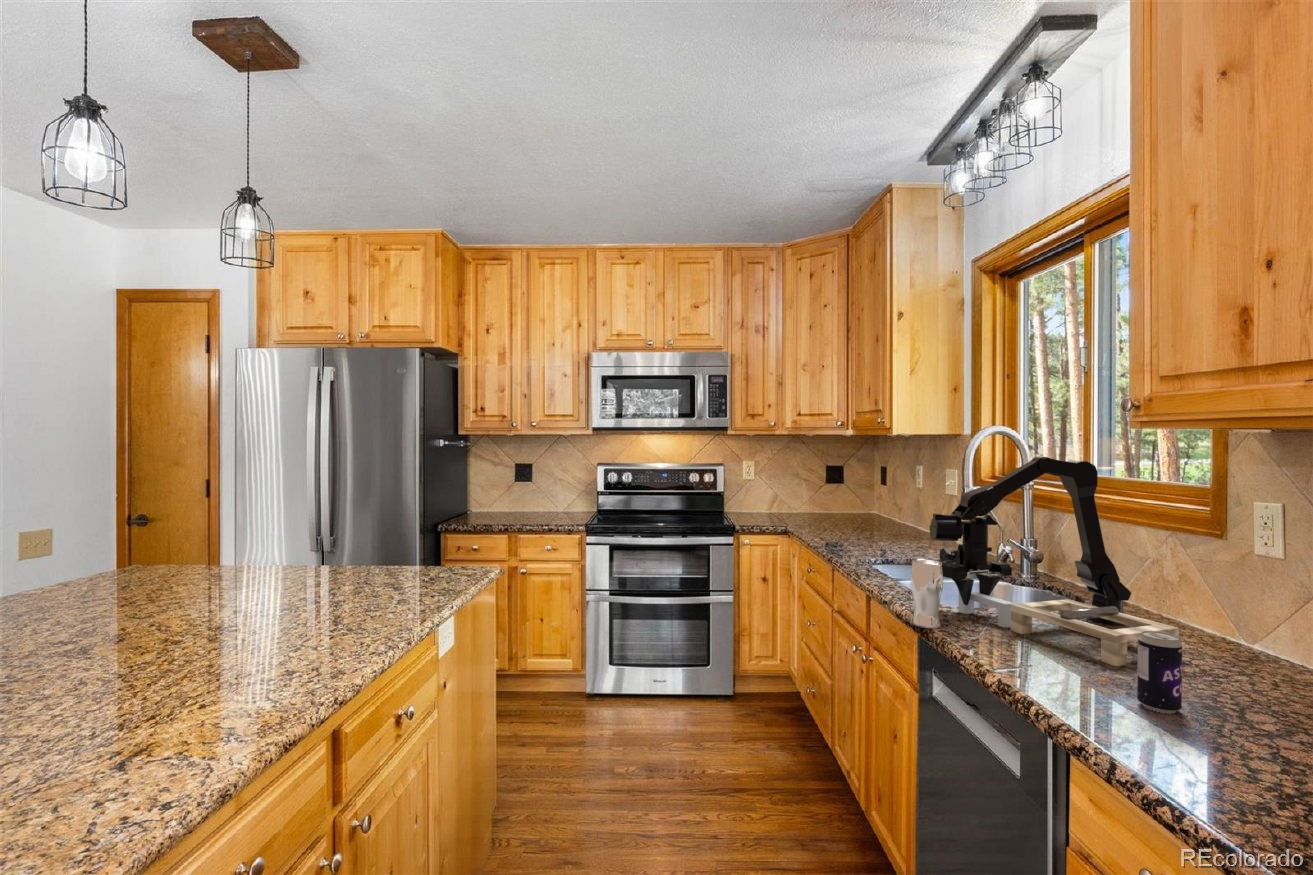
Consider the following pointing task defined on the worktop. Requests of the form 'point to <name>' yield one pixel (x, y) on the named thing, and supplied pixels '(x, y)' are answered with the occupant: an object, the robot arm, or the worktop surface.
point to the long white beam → (1002, 605)
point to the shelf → (1087, 626)
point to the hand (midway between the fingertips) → (974, 604)
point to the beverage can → (1159, 672)
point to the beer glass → (927, 592)
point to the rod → (1089, 612)
